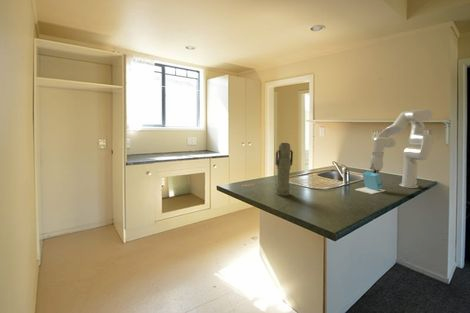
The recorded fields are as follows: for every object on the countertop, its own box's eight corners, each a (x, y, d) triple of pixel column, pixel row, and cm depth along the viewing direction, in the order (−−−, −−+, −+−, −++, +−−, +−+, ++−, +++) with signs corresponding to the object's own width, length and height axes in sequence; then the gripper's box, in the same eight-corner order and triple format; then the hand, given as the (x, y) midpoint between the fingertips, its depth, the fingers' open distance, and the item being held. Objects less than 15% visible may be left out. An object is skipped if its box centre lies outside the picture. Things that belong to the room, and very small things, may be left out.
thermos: (271, 193, 186) (273, 142, 182) (286, 191, 190) (288, 142, 186) (278, 196, 178) (280, 143, 173) (293, 195, 182) (296, 143, 178)
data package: (383, 188, 196) (379, 173, 193) (378, 191, 195) (375, 176, 192) (369, 184, 207) (366, 170, 204) (365, 187, 206) (362, 173, 203)
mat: (368, 187, 209) (368, 186, 209) (385, 191, 198) (385, 190, 198) (354, 190, 199) (354, 189, 199) (371, 194, 188) (371, 193, 188)
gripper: (378, 153, 206) (376, 176, 208) (367, 154, 197) (365, 178, 200) (388, 154, 199) (385, 178, 202) (377, 155, 191) (374, 180, 194)
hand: (375, 178), depth 201 cm, fingers closed
